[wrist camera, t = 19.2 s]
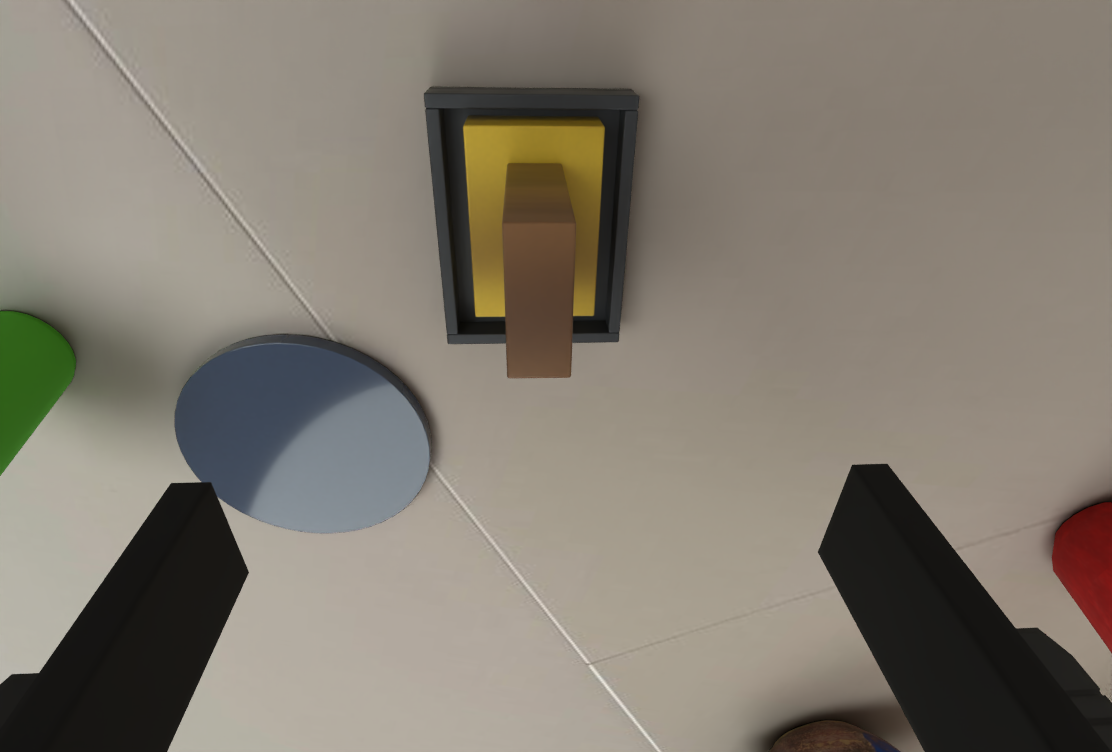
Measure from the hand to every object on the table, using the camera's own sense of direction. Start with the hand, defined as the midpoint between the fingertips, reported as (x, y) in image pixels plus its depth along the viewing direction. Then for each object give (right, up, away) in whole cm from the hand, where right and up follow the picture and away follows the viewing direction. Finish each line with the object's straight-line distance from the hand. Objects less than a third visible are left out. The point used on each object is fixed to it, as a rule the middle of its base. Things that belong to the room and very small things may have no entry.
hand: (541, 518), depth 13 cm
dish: (-1, +11, +17) cm, 21 cm away
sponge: (-1, +11, +17) cm, 20 cm away
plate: (-15, -1, +24) cm, 29 cm away
